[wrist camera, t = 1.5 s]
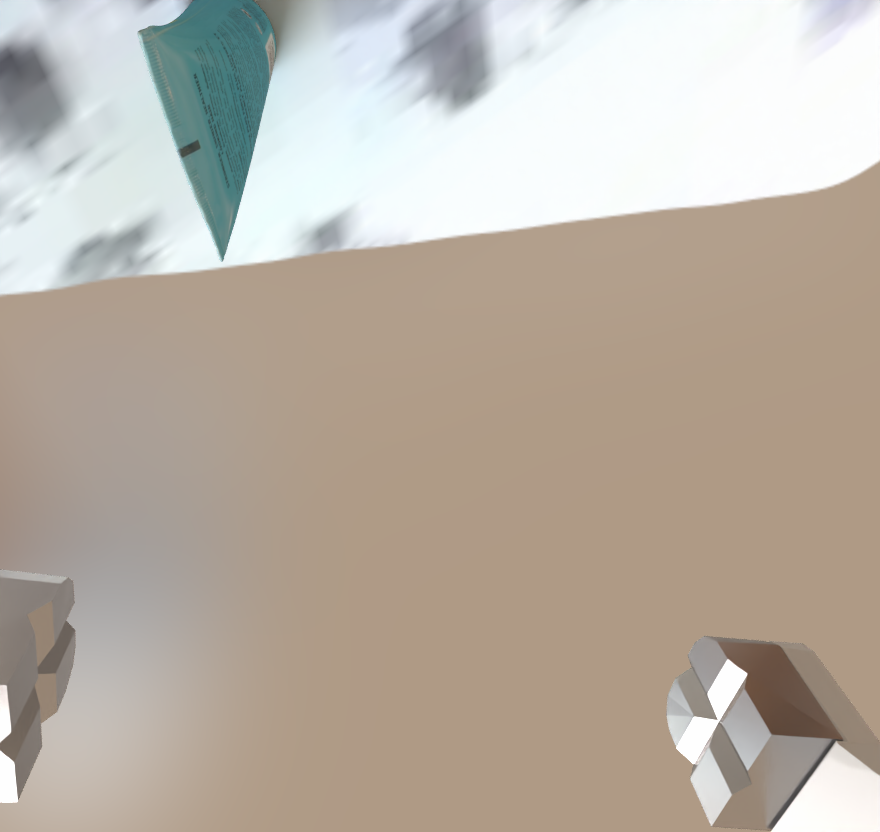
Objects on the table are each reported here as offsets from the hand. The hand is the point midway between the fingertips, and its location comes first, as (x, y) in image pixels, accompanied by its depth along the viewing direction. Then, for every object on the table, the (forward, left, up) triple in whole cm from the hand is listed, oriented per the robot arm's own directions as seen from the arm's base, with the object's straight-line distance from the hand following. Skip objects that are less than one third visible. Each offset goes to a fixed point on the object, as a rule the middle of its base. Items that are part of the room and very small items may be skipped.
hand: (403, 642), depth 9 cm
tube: (-2, -4, -38) cm, 39 cm away
